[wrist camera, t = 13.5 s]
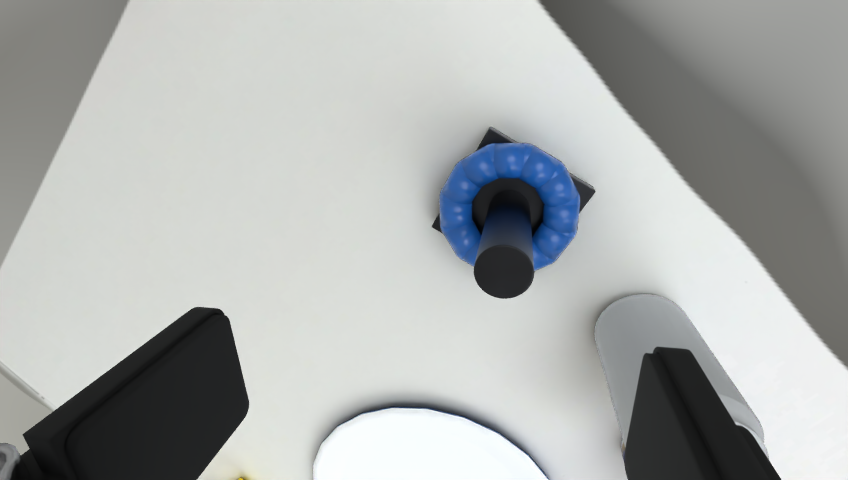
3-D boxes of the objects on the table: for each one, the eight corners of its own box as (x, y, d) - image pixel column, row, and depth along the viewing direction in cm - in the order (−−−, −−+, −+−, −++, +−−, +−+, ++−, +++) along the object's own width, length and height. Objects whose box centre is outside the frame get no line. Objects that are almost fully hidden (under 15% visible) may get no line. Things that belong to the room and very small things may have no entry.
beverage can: (651, 272, 30) (727, 388, 19) (706, 335, 30) (809, 482, 20) (574, 319, 32) (602, 445, 21) (627, 376, 33) (679, 527, 22)
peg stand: (434, 221, 32) (393, 292, 22) (490, 126, 28) (473, 155, 18) (526, 275, 32) (528, 371, 22) (593, 186, 28) (633, 250, 18)
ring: (420, 226, 31) (413, 237, 29) (485, 114, 27) (482, 117, 25) (527, 289, 31) (527, 304, 29) (606, 185, 27) (613, 194, 25)
